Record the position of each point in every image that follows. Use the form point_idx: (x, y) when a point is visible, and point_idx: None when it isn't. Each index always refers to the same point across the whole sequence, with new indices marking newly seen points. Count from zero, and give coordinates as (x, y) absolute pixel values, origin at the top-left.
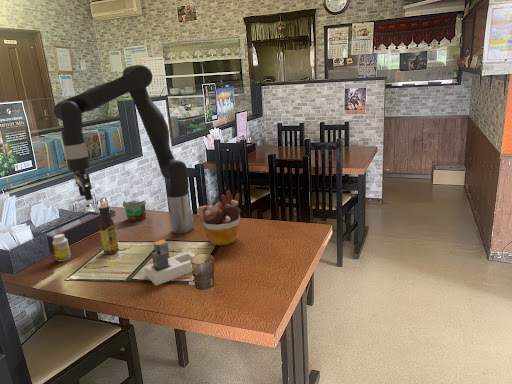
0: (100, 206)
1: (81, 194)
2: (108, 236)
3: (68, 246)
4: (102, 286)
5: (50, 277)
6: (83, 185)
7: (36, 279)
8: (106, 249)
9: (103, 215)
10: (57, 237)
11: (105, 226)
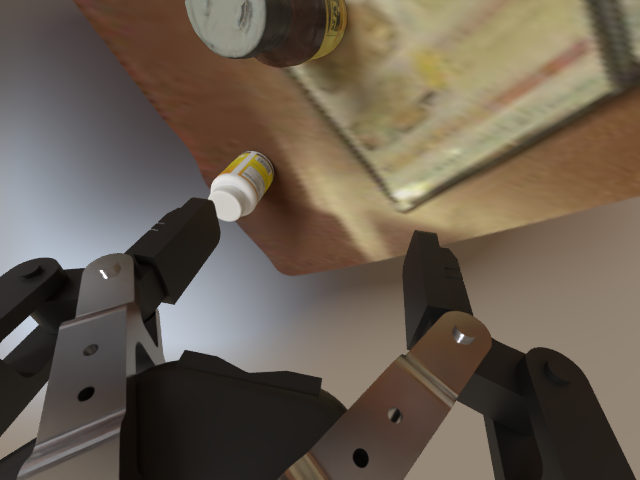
0: (200, 29)
1: (212, 242)
2: (333, 32)
3: (250, 169)
4: (557, 163)
5: (354, 227)
6: (515, 471)
7: (337, 248)
8: (333, 49)
9: (280, 35)
10: (240, 215)
11: (316, 39)
